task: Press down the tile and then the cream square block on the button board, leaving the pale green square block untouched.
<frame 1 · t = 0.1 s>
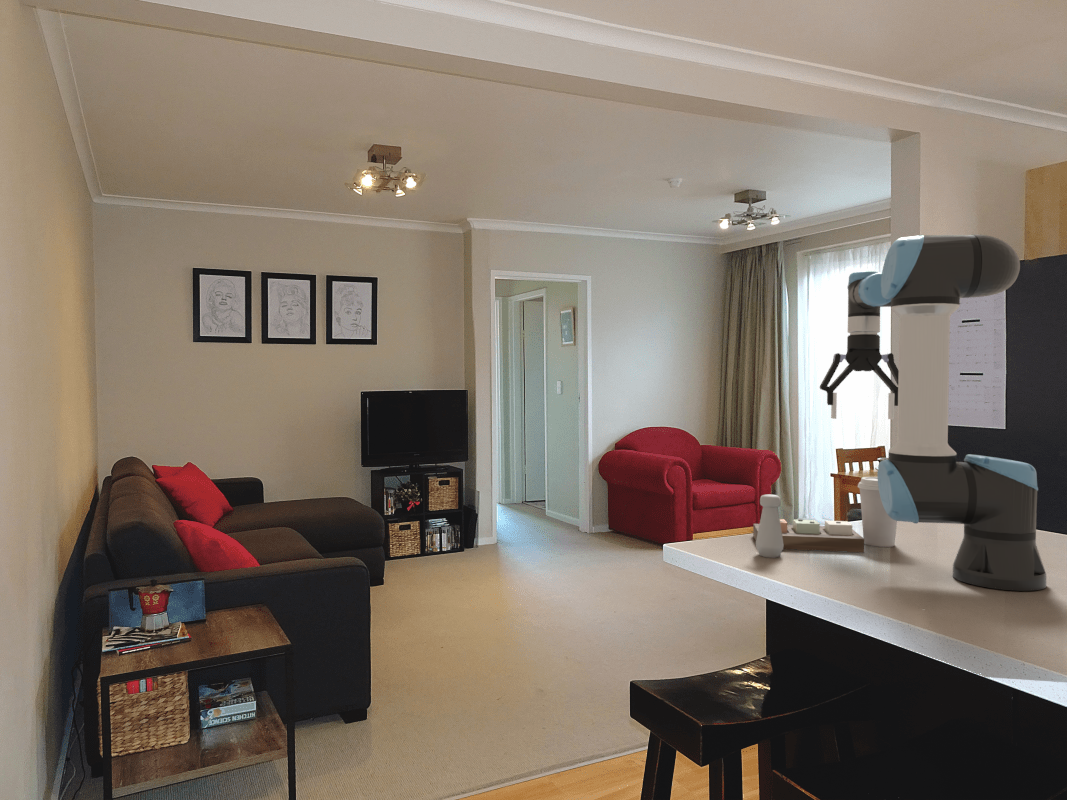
hand: (862, 418, 197), 28 cm above the table, fingers open, 13 cm apart
tile 3: (774, 525, 181), point 4 cm above the table, slide at 0.0 cm
salt shaker: (769, 556, 168), on the table
cream square block 1: (838, 527, 179), point 4 cm above the table, slide at 0.0 cm
coffee cup: (879, 544, 180), on the table
button board: (805, 543, 180), on the table
pale green square block 2: (806, 526, 180), point 4 cm above the table, slide at 0.0 cm
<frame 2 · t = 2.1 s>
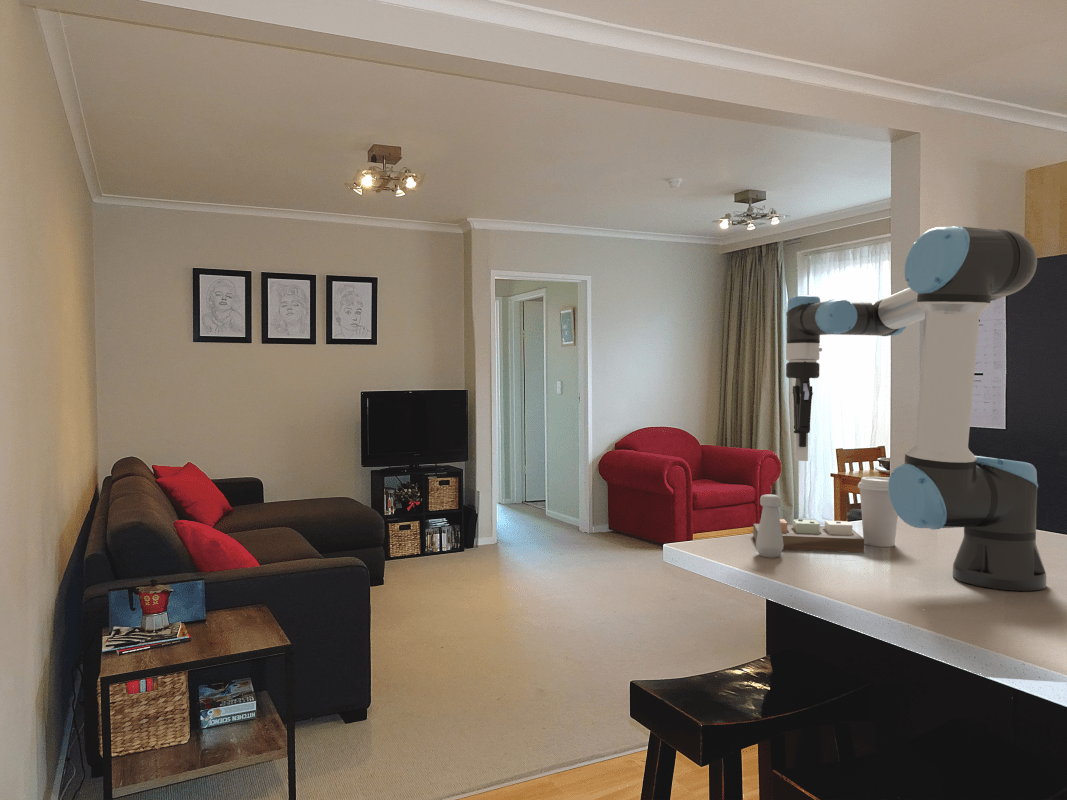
hand: (801, 460, 187), 18 cm above the table, fingers closed
nothing on the table moved.
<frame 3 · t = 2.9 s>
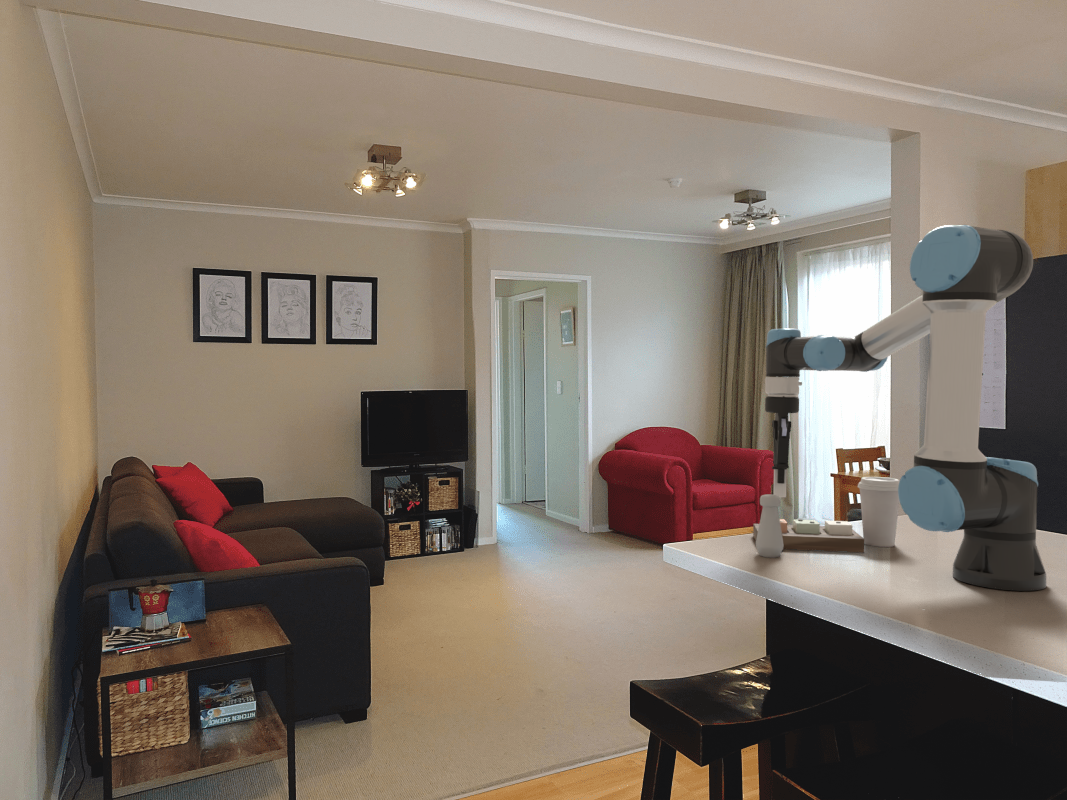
hand: (779, 496, 183), 10 cm above the table, fingers closed
nothing on the table moved.
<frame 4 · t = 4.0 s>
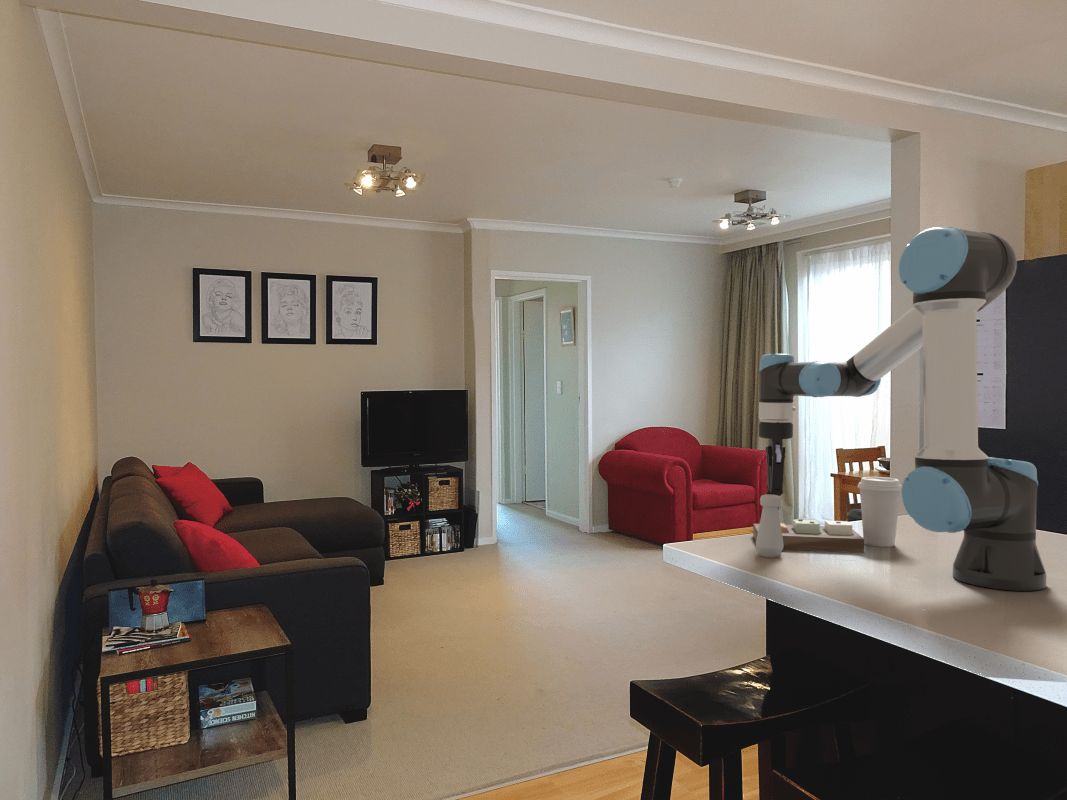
hand: (774, 523, 181), 5 cm above the table, fingers closed
tile 3: (774, 529, 181), point 3 cm above the table, slide at 1.0 cm, touching gripper
everything else where it was.
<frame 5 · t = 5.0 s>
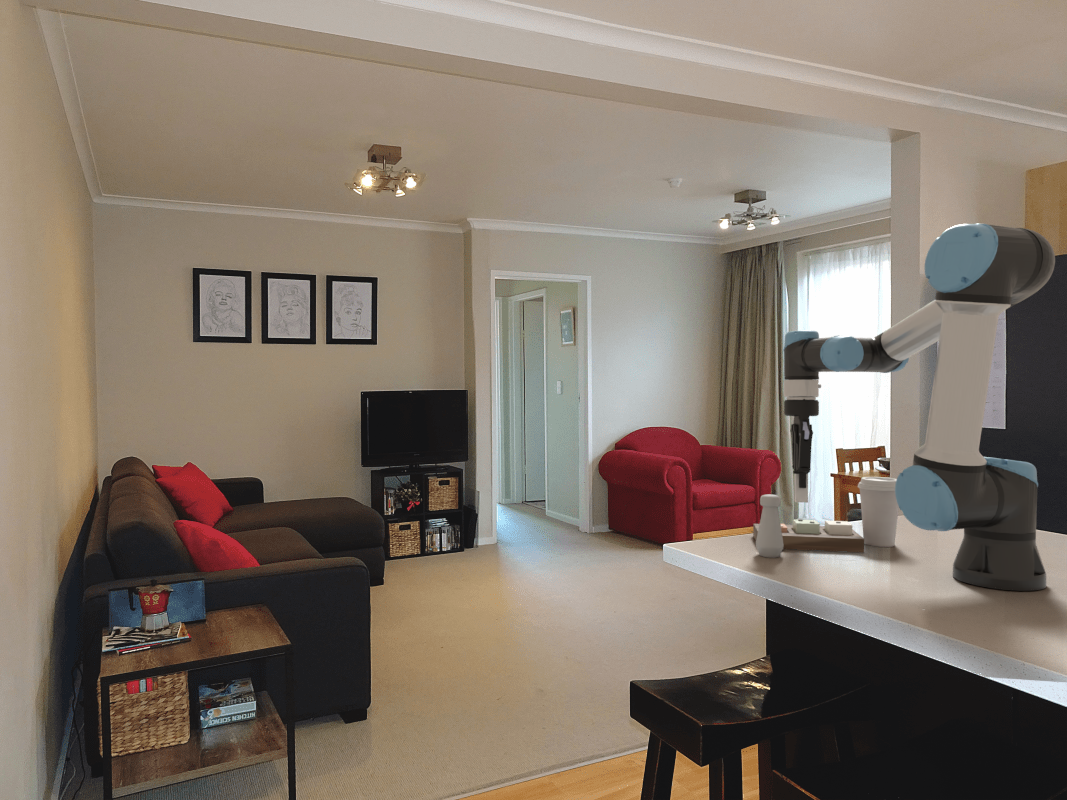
hand: (801, 501, 179), 10 cm above the table, fingers closed
tile 3: (774, 529, 181), point 3 cm above the table, slide at 1.1 cm
everything else where it was.
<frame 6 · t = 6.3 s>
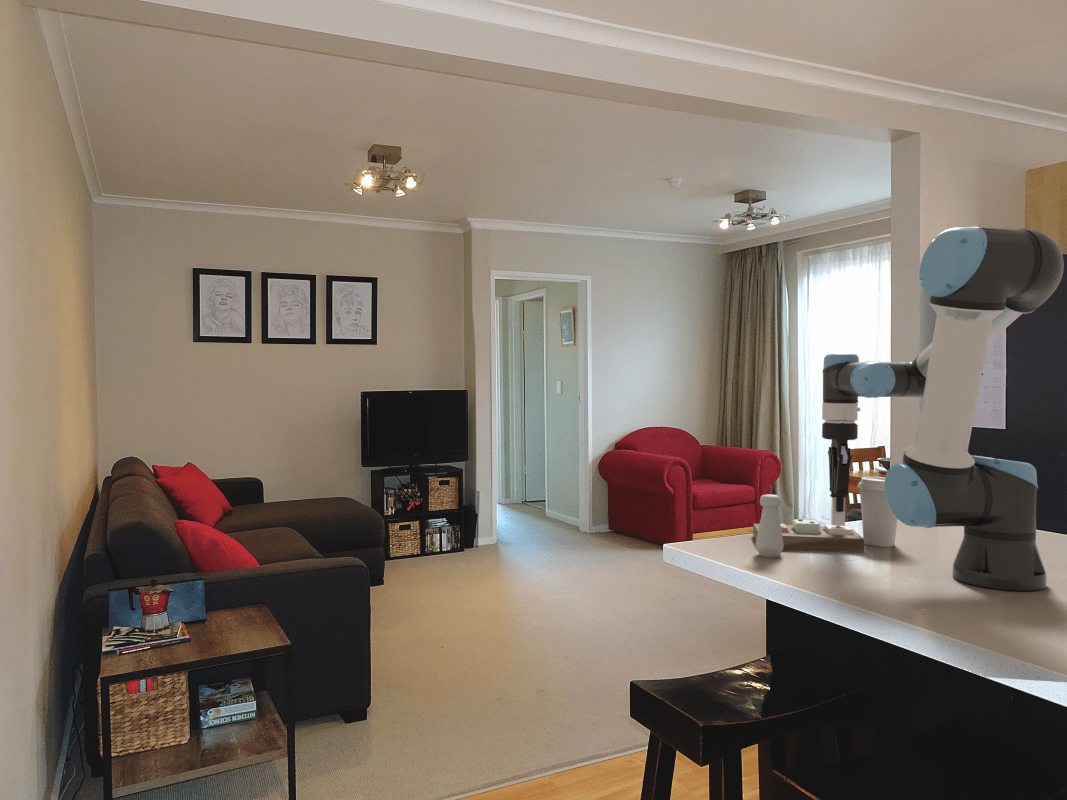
hand: (838, 525, 179), 5 cm above the table, fingers closed
cream square block 1: (838, 532, 179), point 3 cm above the table, slide at 1.0 cm, touching gripper
everything else where it was.
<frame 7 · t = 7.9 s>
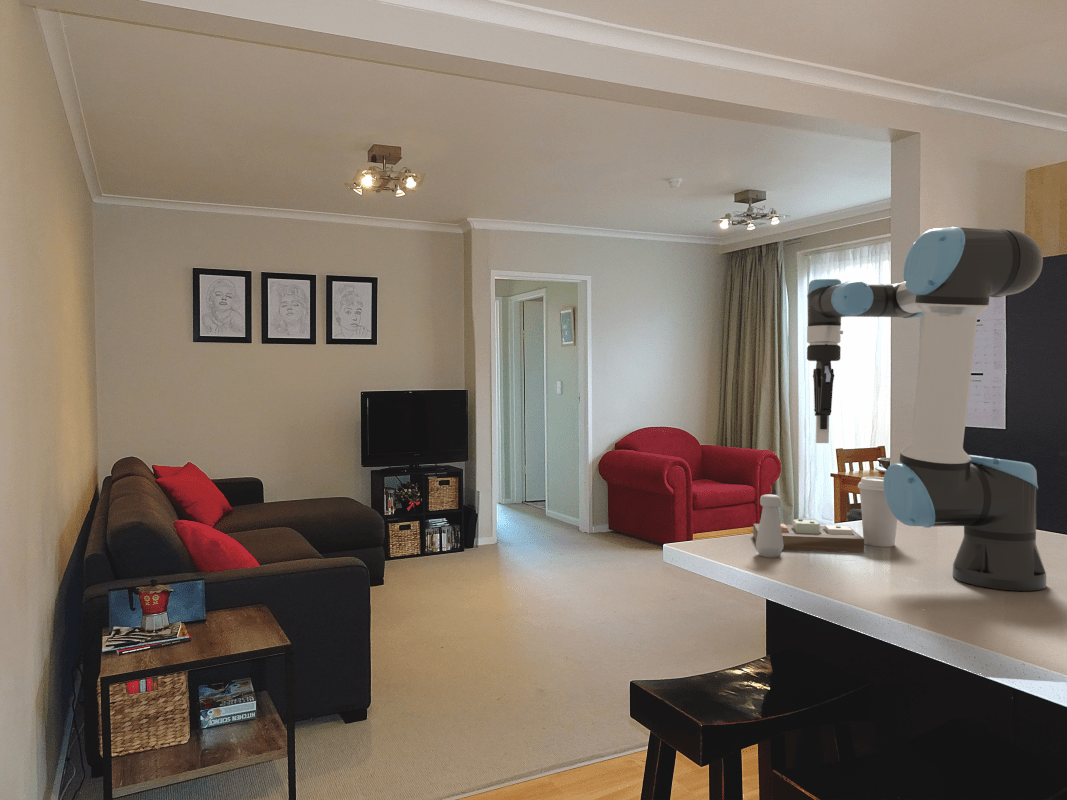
hand: (822, 442, 188), 23 cm above the table, fingers closed
cream square block 1: (838, 532, 179), point 3 cm above the table, slide at 1.1 cm
everything else where it was.
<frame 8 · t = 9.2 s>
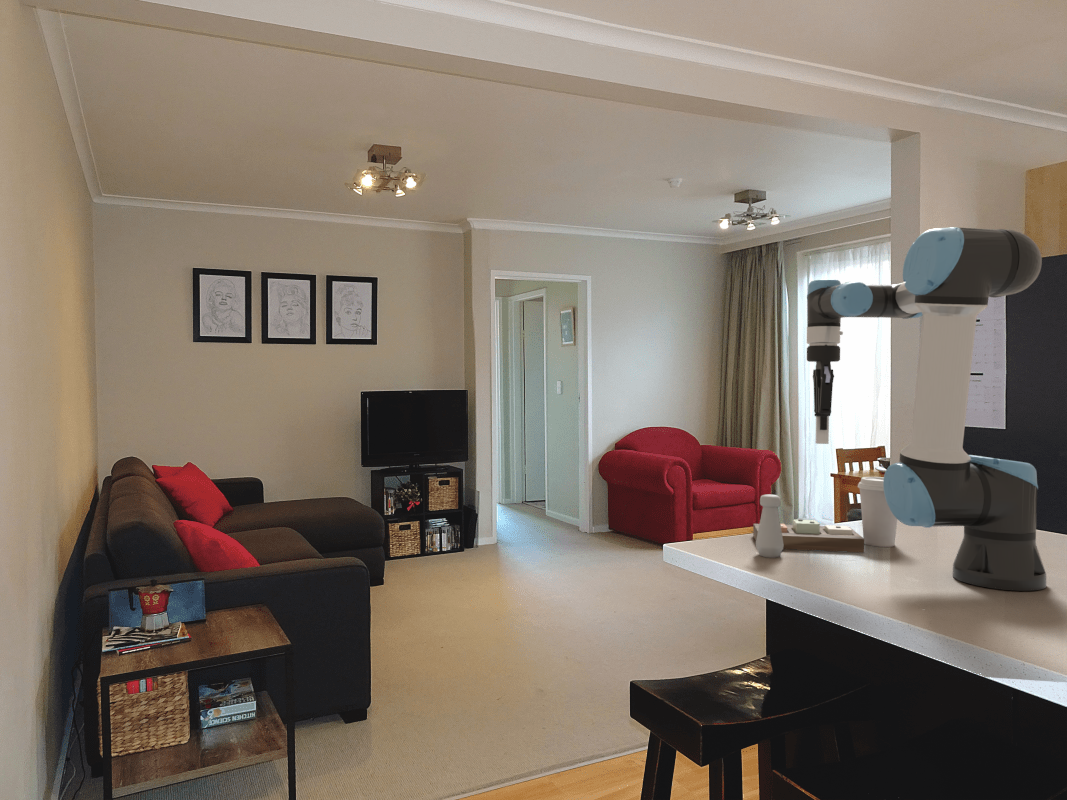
hand: (822, 443, 188), 22 cm above the table, fingers closed
nothing on the table moved.
at the end: tile 3 slide at 1.1 cm; cream square block 1 slide at 1.1 cm; pale green square block 2 slide at 0.0 cm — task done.
